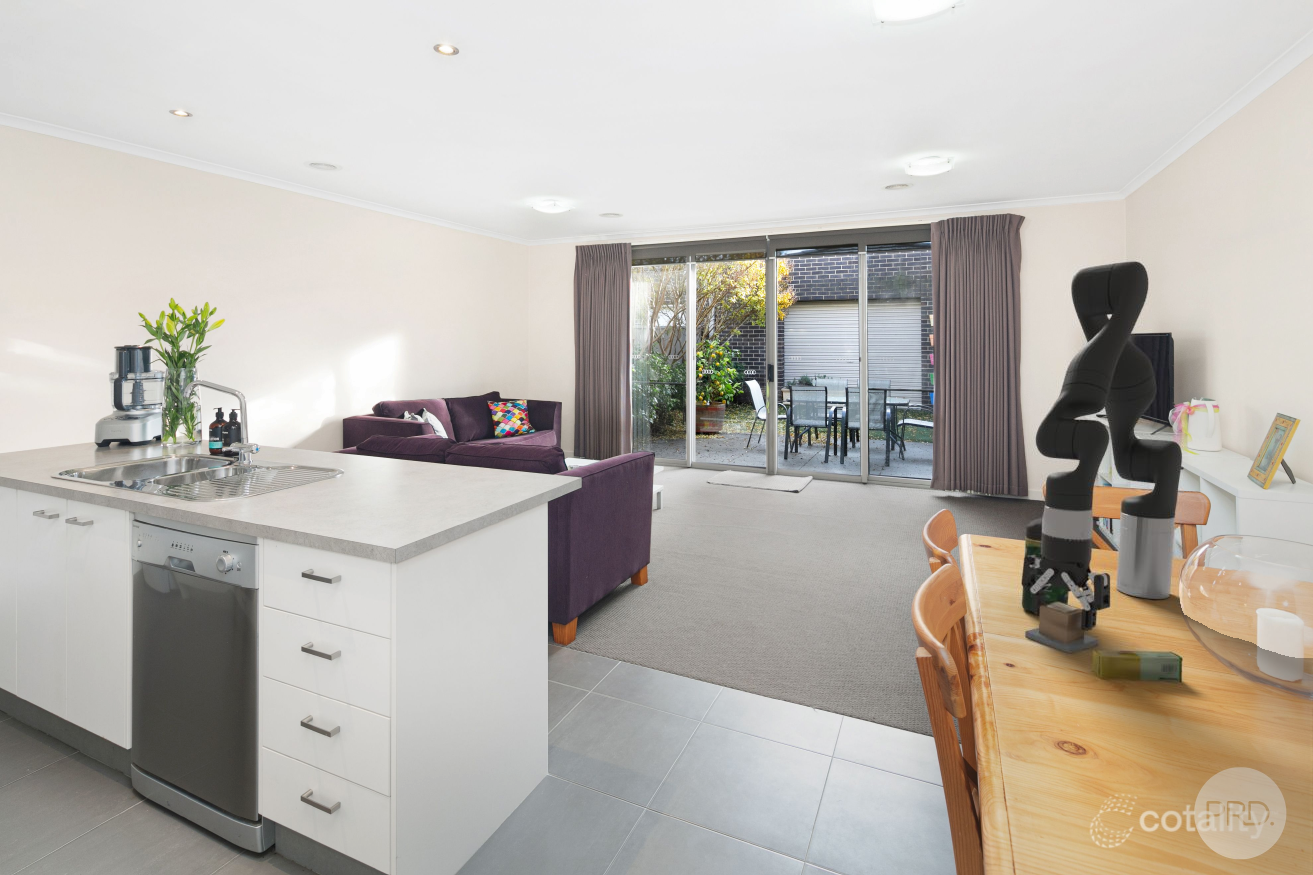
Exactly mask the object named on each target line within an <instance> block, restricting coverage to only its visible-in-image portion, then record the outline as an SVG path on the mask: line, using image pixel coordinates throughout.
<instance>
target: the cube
mask: <svg viewBox="0 0 1313 875" xmlns="http://www.w3.org/2000/svg"><path fill="white" fill-rule="evenodd" d="M1082 609H1083V608H1079V607H1076V606H1074V605H1070V604H1068V605H1067V604H1064V603H1061V602H1054V603H1050V604H1046V605H1042V606H1040V615H1039V619H1038V628H1039V633H1041V634H1043V635H1046V636H1049V637H1051V638H1054V639H1057V640H1059V641H1062V642H1065V643H1068V642H1072V641H1075V640H1079V639H1082V638H1084V634H1085V632H1086V631H1085V630H1082V629H1081V618H1082Z"/></svg>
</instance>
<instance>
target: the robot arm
mask: <svg viewBox="0 0 1313 875" xmlns="http://www.w3.org/2000/svg"><path fill="white" fill-rule="evenodd" d="M1070 289H1071V292H1070V293H1071V298H1072V303H1073V307H1074V311H1075V314H1076V316H1077V319H1078V321H1079V323H1080V326H1081V329H1082V331H1083V335H1084V336H1085V339H1086V342H1087V343H1086V344H1084V346H1083V347H1082V348H1081V349H1080V350H1079V351H1078V352H1077V353H1076V354H1075V355H1074V357H1073V358H1072V359H1071V361H1070V362H1069V365H1068V367H1067V369H1066V372H1065V375H1064V378H1063V382H1062V387H1061V390H1060V392H1059V396H1058V398H1057V399H1056V400H1055V402H1054V403H1053V405H1052V406H1051V409H1050V410H1049V411H1048V412H1047V413H1046V415H1045V417H1044V419H1043V420H1042V421H1041V422H1040V424H1039V426H1038V428H1037V431H1036V434H1035V446H1036V448H1037V450H1038V452H1039V453H1040V455H1042V456H1044V457H1046V458H1050V459H1060V460H1071V461H1078V464H1077V466H1076V468H1075V469H1073V470H1069V471H1056V472H1051V473H1050V474H1049V475H1047V477H1046V481H1045V495H1044V496H1045V499H1044V509H1043V514H1042V517H1043V520H1042V539H1041V555H1042V559H1041V558H1039V557H1038V556H1037V555H1030V556H1026V557H1025V556H1024V558H1023V566H1022V573H1021V574H1022V575H1021V586H1022V588H1023V587H1027V588H1028V589H1030V590H1031V592H1032V609H1033V610H1034V612H1033V613H1034V614H1036V615H1039V614H1040V606H1042V605H1045V601H1046V593H1044V591H1045V590H1046V589H1047V588H1048V587H1049V586H1050V585H1052V587H1056V588H1062V589H1064V590H1066V591H1069V592H1071V593H1072V595H1073V596H1074V598H1076V599H1077V600H1078V601H1079V603H1080V604H1081V606H1082V608H1081V609H1082V618H1081V629H1082V630H1085V632H1089V631H1092V629H1093V628H1095V627H1096V626H1097V616H1098V611H1102V610H1104V609H1109V608H1111V576H1110V574H1109V573H1107V572H1104V573H1097V572H1093V571H1092V570H1091V568H1090V564H1091V561H1092V550H1093V533H1094V531H1093V530H1094V517H1093V501H1094V488H1095V483H1096V479H1097V475H1098V472H1099V468H1100V466H1101V464H1102V461H1103V459H1104V457H1105V455H1106V452H1107V449H1108V446H1109V443H1110V442H1111V449H1112V450H1111V451H1112V457H1113V461H1114V467H1115V470H1116V472H1117V475H1118V476H1119V477H1120V478H1121V479H1122V480H1126V481H1131V482H1137V483H1146V484H1154V486H1153V490H1152V491H1151V492H1148V493H1146V494H1141V495H1135V496H1129V497H1125V498H1124V499H1123V500H1122V501H1121V503H1120V504H1121V505H1120V521H1119V538H1118V540H1119V541H1118V553H1117V555H1118V557H1117V569H1116V570H1117V571H1116V586H1115V587H1116V588H1115V589H1116V590H1118V591H1119V592H1121V593H1124V594H1126V595H1130V596H1133V597H1138V598H1143V599H1150V600H1165V599H1168V598H1170V593H1171V586H1172V572H1173V571H1172V569H1173V560H1174V557H1173V556H1174V555H1173V554H1174V550H1173V549H1174V536H1175V521H1176V520H1175V519H1176V511H1177V510H1176V509H1177V504H1178V503H1177V502H1178V495H1179V485H1180V477H1181V473H1182V472H1181V470H1182V463H1183V453H1182V452H1183V451H1182V448H1181V446H1180V445H1179V443H1178V442H1176V441H1173V440H1164V439H1150V438H1149V439H1148V438H1138V437H1137V436H1136V434H1135V427H1136V425H1137V424H1138V421H1139V420H1140V418H1141V417H1142V416H1143V415H1144V414H1145V413H1146V411H1147V410H1148V409H1149V407H1150V406H1151V405H1152V403H1153V402H1154V400H1155V398H1156V395H1157V390H1158V389H1157V382H1156V377H1155V371H1154V368H1153V364H1152V362H1151V360H1150V358H1149V357H1148V355H1146V353H1144V352H1143V351H1142V350H1141V349H1140V348H1139V347H1138V346H1136V345H1135V344H1134V343H1133V342H1131V341H1130V340H1129V338H1130V336H1131V335H1132V332H1133V330H1134V328H1135V325H1136V324H1137V321H1138V319H1139V317H1140V315H1141V312H1142V310H1143V308H1144V306H1145V304H1146V300H1147V296H1148V294H1149V293H1148V292H1149V276H1148V272H1147V269H1146V267H1145V265H1143V263H1141V262H1139V261H1123V262H1118V263H1117V262H1116V263H1110V264H1108V263H1107V264H1102V265H1097V266H1090V267H1085V268H1082V269H1080V270H1077V271H1076V272H1075V274H1074V275H1073V277H1072V281H1071V285H1070ZM1108 315H1111V316H1110V317H1109V316H1108ZM1103 410H1105V415H1106V418H1107V423H1108V427H1109V428H1107V427H1106V425H1105V424H1104V423H1102V422H1101V421H1099V420H1096V419H1095V420H1094V419H1079V418H1080V417H1085V416H1091V415H1095V414H1098V413H1100V412H1102V411H1103ZM1108 429H1109V430H1108ZM1109 433H1110V434H1109ZM1039 567H1041V569H1042V571H1043V573H1044V574H1043V575H1042V576H1041V577H1040V578H1039V579H1038V580H1037V581H1036V579H1037V570H1038V568H1039ZM1089 580H1090V581H1091V585H1092V586H1093V589H1092V588H1091V586H1090V584H1089V582H1088V581H1089Z"/></svg>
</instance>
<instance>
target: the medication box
mask: <svg viewBox="0 0 1313 875" xmlns="http://www.w3.org/2000/svg"><path fill="white" fill-rule="evenodd" d="M1183 658H1184V657H1182V656H1180V655H1179V654H1177V653H1175V652H1172V651H1161V650H1160V651H1159V650H1158V651H1153V650H1112V649H1111V650H1106V649H1103V650H1102V649H1101V650H1100V649H1096V650H1095V649H1093V650H1092V670H1091V673H1092V674H1094V675H1095V676H1097V677H1098V678H1099V679H1101V680H1119V681H1138V682H1139V681H1144V682H1145V681H1146V682H1166V683H1167V682H1169V683H1171V682H1172V683H1182V682H1183V675H1182V674H1183V660H1184V659H1183Z"/></svg>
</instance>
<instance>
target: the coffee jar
mask: <svg viewBox="0 0 1313 875" xmlns="http://www.w3.org/2000/svg"><path fill="white" fill-rule="evenodd" d="M1042 520H1043V516H1041V517H1039V518H1036V519H1034V520H1031V521H1030V522H1029V523H1027V525H1026V527H1025V530H1026V531H1025V542H1024V558H1025V557H1026V556H1030V555H1037V556H1038V557H1039V558H1041V559H1042V555H1041V539H1042ZM1043 574H1044V573H1043V571H1042V569H1041V567H1039V568H1038V570H1037V579H1036V581H1037V580H1038V579H1039V578H1040V577H1041V576H1042V575H1043ZM1021 592H1022V597H1021V606H1022V608H1023V610H1025V611H1028V612H1032V613H1034V610H1033V609H1032V592H1031V590H1030V589H1028V588H1027V587H1023V586H1022V591H1021ZM1044 593H1046V601H1045V605H1046V604H1050V603H1054V602H1061V603H1064V604H1067V605H1069V594H1070V591H1066V590H1064V589H1062V588H1056V587H1052V585H1050V586H1049V587H1048V588H1047V589H1046V590H1045V591H1044ZM1039 615H1040V614H1039Z"/></svg>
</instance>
